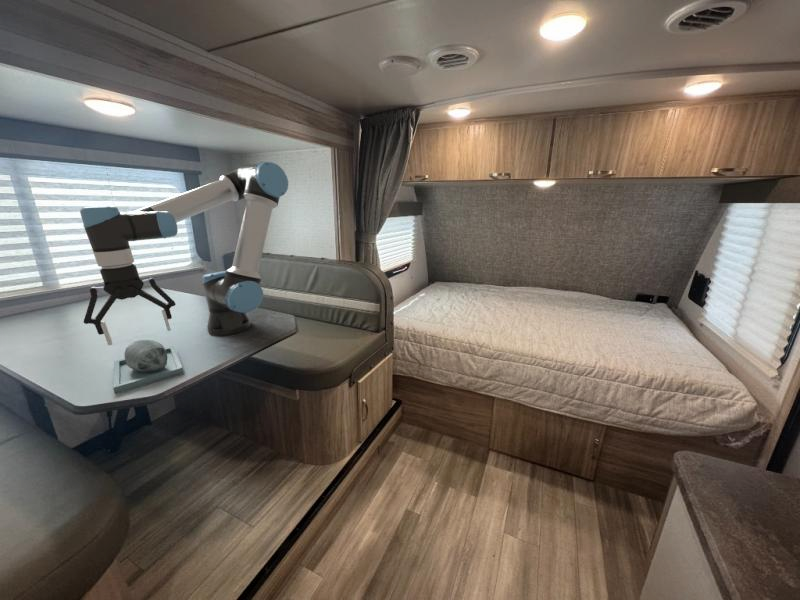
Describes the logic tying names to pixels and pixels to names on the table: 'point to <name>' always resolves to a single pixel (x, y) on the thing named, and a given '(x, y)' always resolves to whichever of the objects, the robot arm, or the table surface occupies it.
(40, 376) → the table surface
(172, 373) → the tray
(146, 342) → the streaked grey egg
